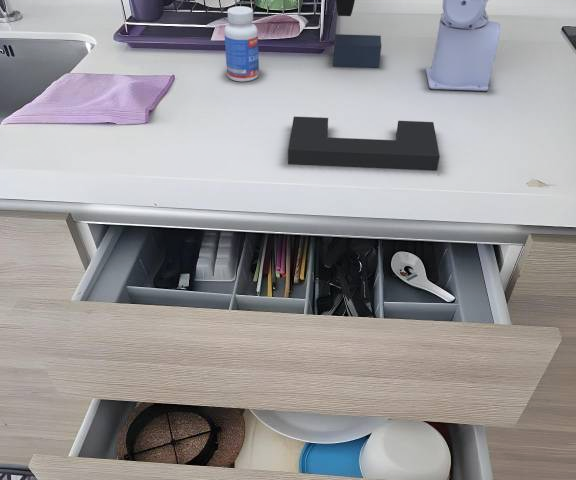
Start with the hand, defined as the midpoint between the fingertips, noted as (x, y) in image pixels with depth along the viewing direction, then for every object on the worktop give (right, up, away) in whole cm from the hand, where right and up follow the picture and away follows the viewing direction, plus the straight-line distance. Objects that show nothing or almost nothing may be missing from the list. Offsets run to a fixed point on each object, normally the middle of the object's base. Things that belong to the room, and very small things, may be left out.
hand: (344, 7), depth 95 cm
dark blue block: (+3, -5, +7) cm, 9 cm away
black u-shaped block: (+1, -29, -14) cm, 32 cm away
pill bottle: (-17, -10, +3) cm, 20 cm away
